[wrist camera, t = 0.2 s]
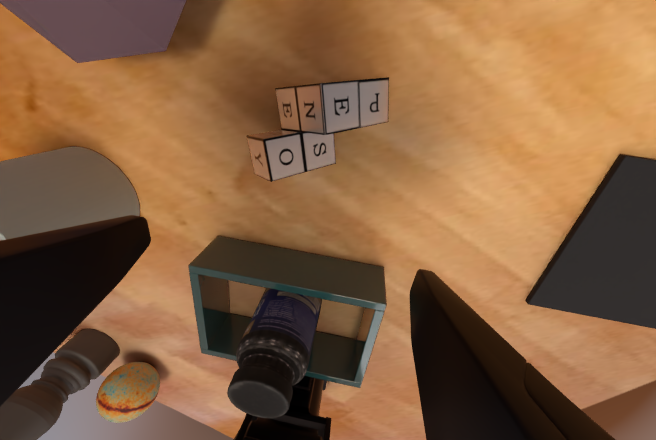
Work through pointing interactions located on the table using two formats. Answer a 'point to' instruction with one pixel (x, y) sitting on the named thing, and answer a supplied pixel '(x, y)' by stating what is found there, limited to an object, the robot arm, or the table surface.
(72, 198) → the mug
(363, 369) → the teal open box
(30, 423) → the candle holder
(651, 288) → the mat
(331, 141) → the building blocks
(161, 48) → the flask
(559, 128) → the table surface
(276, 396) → the pill bottle
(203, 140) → the table surface
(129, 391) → the ball
